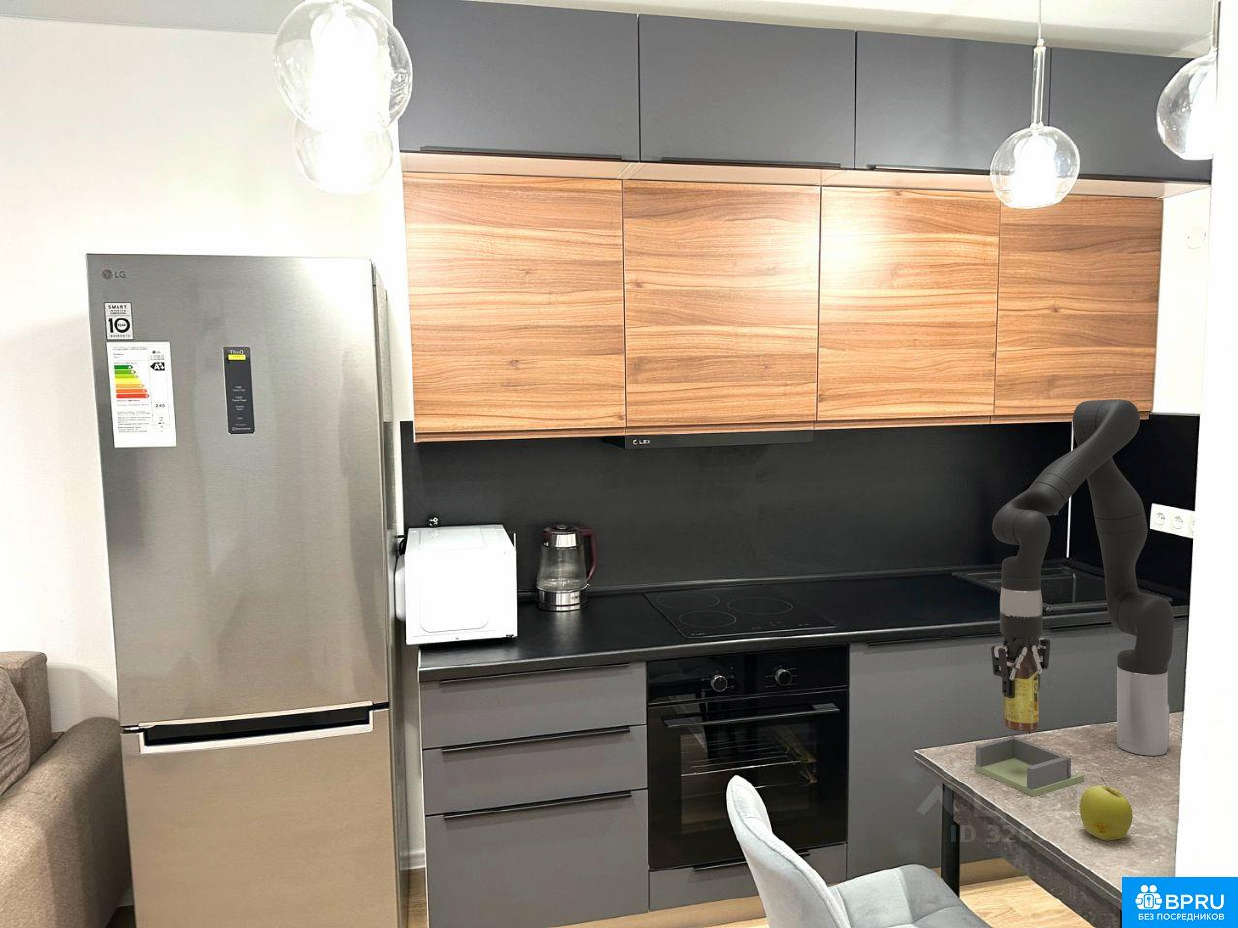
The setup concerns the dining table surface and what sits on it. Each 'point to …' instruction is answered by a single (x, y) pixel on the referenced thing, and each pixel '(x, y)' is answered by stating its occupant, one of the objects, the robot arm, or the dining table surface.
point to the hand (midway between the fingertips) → (1021, 693)
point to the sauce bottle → (1023, 695)
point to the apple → (1105, 812)
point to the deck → (1025, 766)
